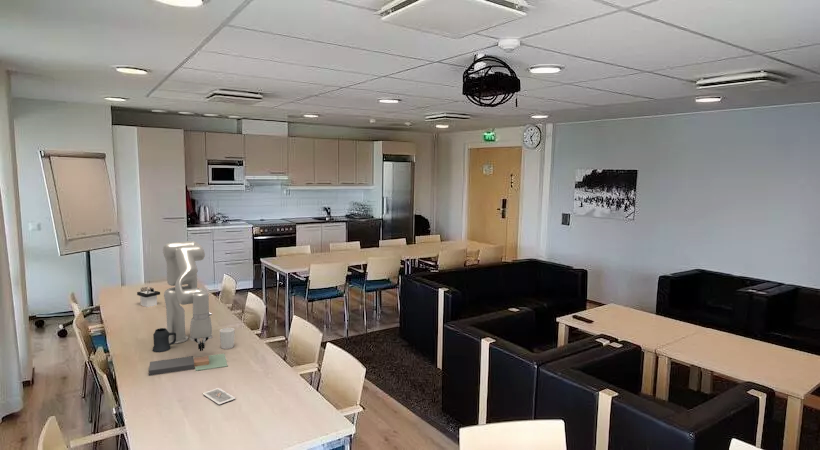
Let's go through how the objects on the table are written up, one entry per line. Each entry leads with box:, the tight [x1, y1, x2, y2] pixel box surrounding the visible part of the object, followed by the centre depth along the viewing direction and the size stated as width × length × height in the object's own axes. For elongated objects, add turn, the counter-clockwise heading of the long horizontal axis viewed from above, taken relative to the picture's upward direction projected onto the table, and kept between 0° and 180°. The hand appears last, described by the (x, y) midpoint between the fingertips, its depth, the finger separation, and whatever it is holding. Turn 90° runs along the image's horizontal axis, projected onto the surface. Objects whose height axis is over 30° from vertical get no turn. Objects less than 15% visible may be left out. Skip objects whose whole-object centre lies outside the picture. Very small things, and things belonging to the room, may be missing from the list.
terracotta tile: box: [193, 355, 209, 368], centre depth 246 cm, size 7×7×2 cm
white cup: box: [219, 327, 235, 350], centre depth 270 cm, size 8×8×10 cm
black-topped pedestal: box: [136, 286, 161, 308], centre depth 349 cm, size 28×26×13 cm
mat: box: [194, 353, 228, 372], centre depth 248 cm, size 18×15×1 cm
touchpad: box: [202, 387, 236, 405], centre depth 210 cm, size 8×15×2 cm, turn 50°
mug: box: [151, 327, 176, 353], centre depth 265 cm, size 12×9×11 cm
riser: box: [148, 355, 195, 376], centre depth 240 cm, size 12×20×2 cm, turn 116°
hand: (201, 350), depth 246 cm, fingers closed
